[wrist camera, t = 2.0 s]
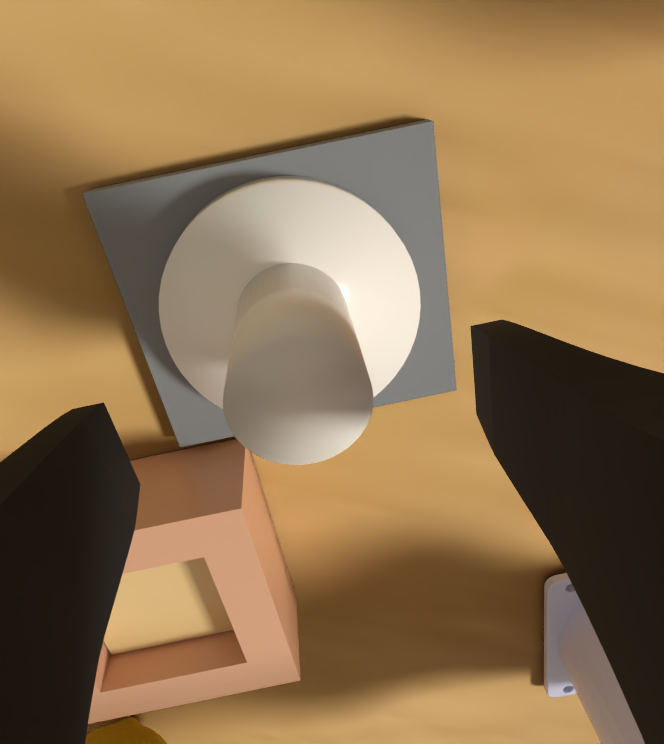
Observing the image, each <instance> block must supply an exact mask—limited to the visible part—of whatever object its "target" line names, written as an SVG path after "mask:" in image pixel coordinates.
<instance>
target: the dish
mask: <svg viewBox="0 0 664 744" xmlns="http://www.w3.org/2000/svg"><path fill="white" fill-rule="evenodd" d="M130 462H131V464H132V467H133V469H134V471H135V473H136V476H137V478H138V480H139V482H140V493H139V502H138V511H137V518H136V525H135V530H134V534H133V538H132V542H131V545H130V549H129V553H128V556H127V560H126V563H125V567H124V570H123V574H122V577H121V581H120V584H119V588H118V591H117V595H116V598H115V602H114V605H113V608H112V612H111V615H110V619H109V622H108V626H107V629H106V633H105V636H104V640H103V645H102V649H101V653H100V657H99V662H98V667H97V673H96V679H95V685H94V690H93V696H92V702H91V708H90V713H89V720H88V724H91V723H96V722H101V721H106V720H110V719H115V718H120V717H125V716H130V715H135V714H140V713H145V712H149V711H154V710H159V709H164V708H169V707H174V706H179V705H183V704H188V703H193V702H198V701H203V700H208V699H213V698H217V697H222V696H227V695H232V694H237V693H242V692H247V691H251V690H256V689H261V688H266V687H271V686H276V685H281V684H286V683H290V682H295V681H300V660H299V640H298V619H297V599H296V595H295V591H294V588H293V585H292V582H291V579H290V575H289V572H288V569H287V566H286V563H285V559H284V556H283V553H282V550H281V547H280V543H279V540H278V537H277V534H276V531H275V527H274V524H273V521H272V518H271V515H270V511H269V508H268V505H267V502H266V499H265V495H264V492H263V489H262V486H261V483H260V479H259V476H258V473H257V470H256V467H255V463H254V460H253V457H252V454H251V451H249V450H248V449H247V448H245V447H244V446H243V445H242V444H241V443H240V442H239V441H238V440H237V439H232V440H227V441H223V442H218V443H213V444H208V445H203V446H198V447H194V448H189V449H184V450H179V451H174V452H169V453H165V454H160V455H155V456H150V457H145V458H140V459H136V460H131V461H130Z"/></svg>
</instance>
